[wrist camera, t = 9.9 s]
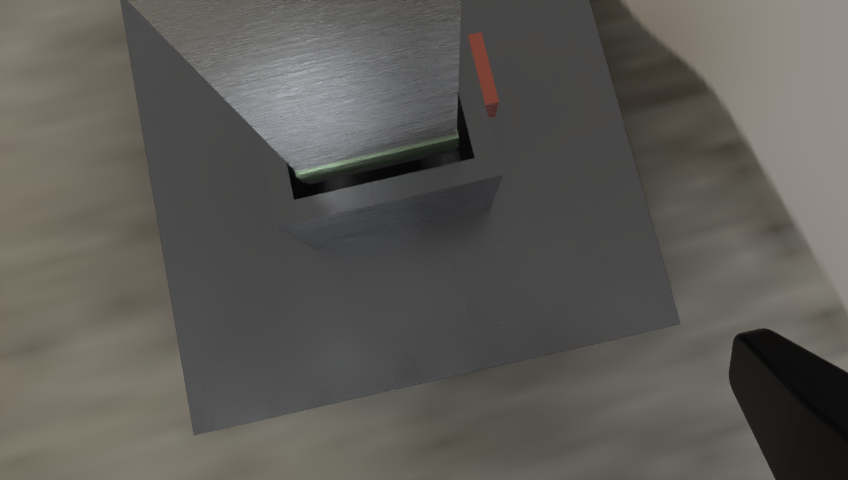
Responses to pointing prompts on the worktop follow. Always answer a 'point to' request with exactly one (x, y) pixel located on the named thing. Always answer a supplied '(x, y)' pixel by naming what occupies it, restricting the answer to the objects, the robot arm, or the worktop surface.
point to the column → (327, 74)
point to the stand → (402, 228)
